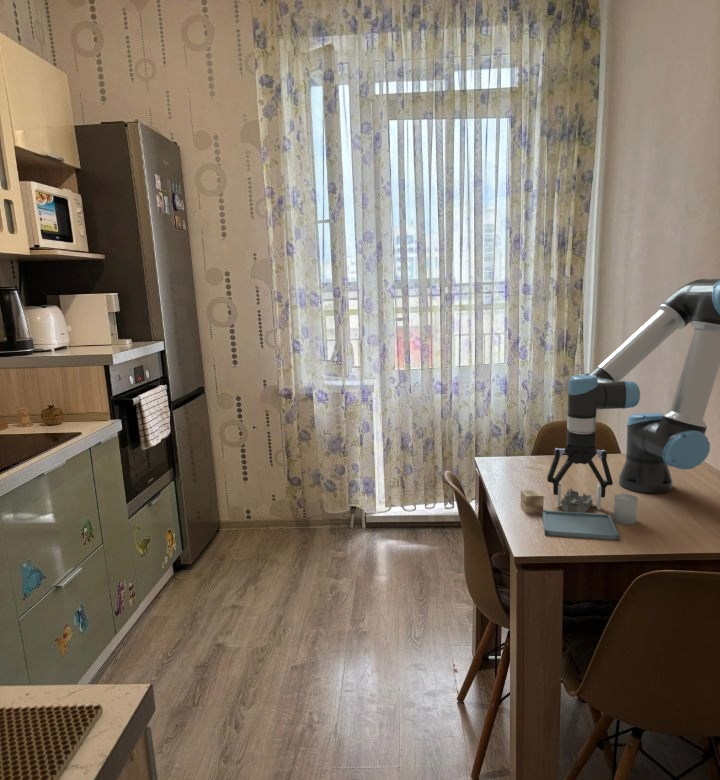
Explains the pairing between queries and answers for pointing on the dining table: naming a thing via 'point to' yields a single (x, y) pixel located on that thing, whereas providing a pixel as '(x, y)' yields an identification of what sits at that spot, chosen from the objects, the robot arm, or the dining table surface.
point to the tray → (579, 525)
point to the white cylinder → (625, 509)
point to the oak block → (532, 501)
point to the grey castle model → (576, 502)
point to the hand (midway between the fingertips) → (578, 506)
